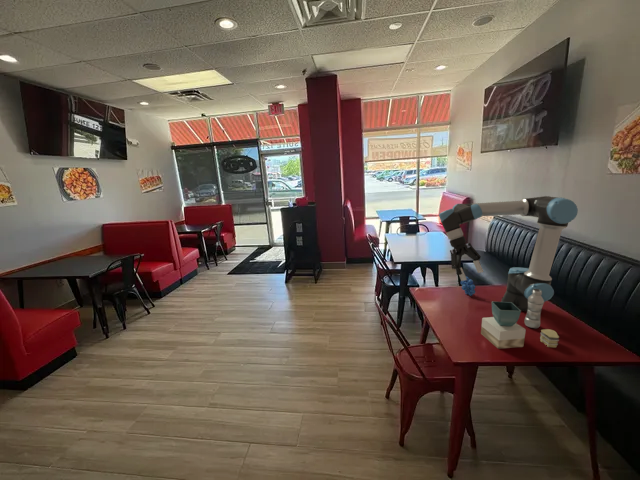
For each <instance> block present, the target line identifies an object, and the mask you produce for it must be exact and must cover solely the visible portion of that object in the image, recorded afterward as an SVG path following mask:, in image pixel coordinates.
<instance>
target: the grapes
mask: <svg viewBox="0 0 640 480" xmlns="http://www.w3.org/2000/svg"><path fill="white" fill-rule="evenodd" d="M466 279H467V280H464V281H461V280H460V285H461V291H464V294H465V295H467V296H468V295H469V296H470V297H472V296H474V295H475V294H476V290H475V289H476V285H475V284H474V280H473V279H472V278H470V277H468V276H466Z"/></svg>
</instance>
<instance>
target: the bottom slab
mask: <svg viewBox="0 0 640 480" xmlns="http://www.w3.org/2000/svg"><path fill="white" fill-rule="evenodd" d="M480 334H481V335H482V336H483V337H484V338H485V339H486V340H488V342H490V343H491V344H492V345H493V346H494V347H496V348H497V349H510V348H512V349H513V348H523V347H524V344H525V338H523V339H511V340H498V339H497V338H495V337H494V336H493V335H492V334H491V333H489V332H488V331H487V330H486V329H484V328H483V327H482V326H481V329H480Z"/></svg>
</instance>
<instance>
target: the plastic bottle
mask: <svg viewBox="0 0 640 480" xmlns="http://www.w3.org/2000/svg"><path fill="white" fill-rule="evenodd" d="M532 293H533V294H532V295H530V296H529V297H528V310H527V311H526V315H525V317H524V319H523V320H524V325H525V326H526V327H528V328H530V329H538V328H539V327H540V326H541V313H542V310H543V309H542V308H543V306H544V304H545V302H544V300H543V298H542V296H541V295H542V291H541V290H539V289H533V291H532Z"/></svg>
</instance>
